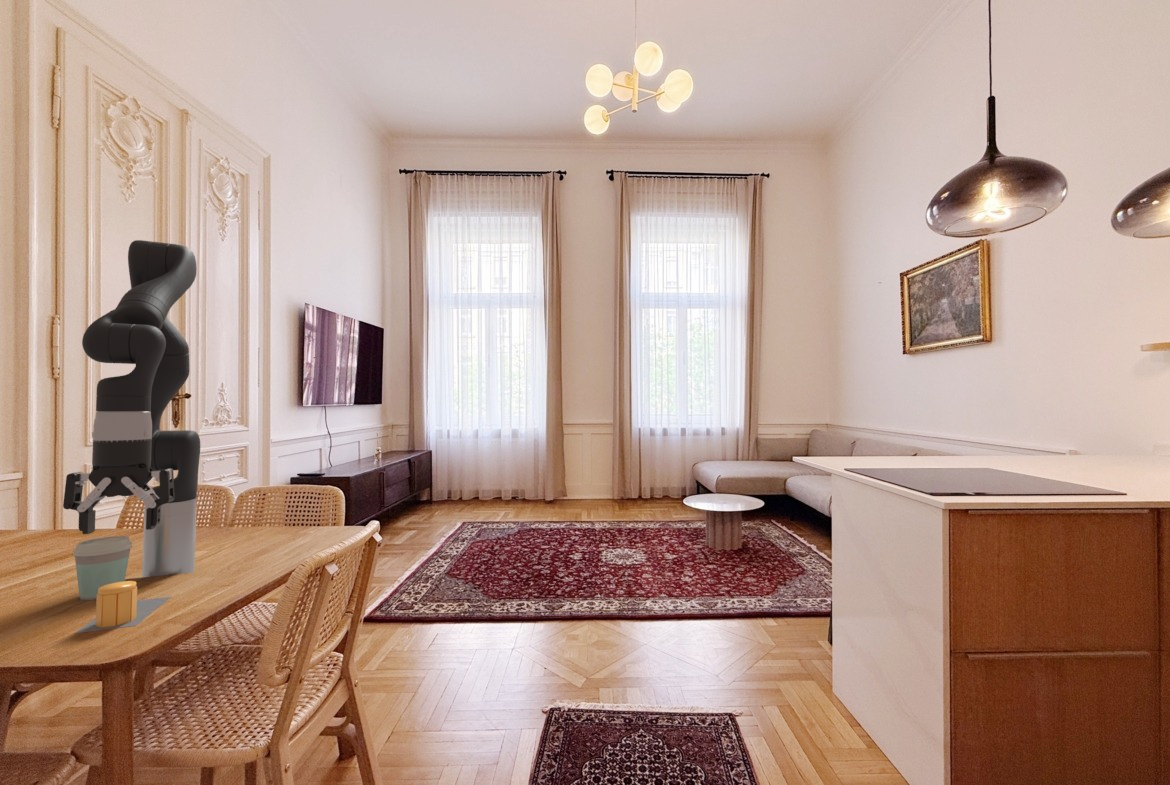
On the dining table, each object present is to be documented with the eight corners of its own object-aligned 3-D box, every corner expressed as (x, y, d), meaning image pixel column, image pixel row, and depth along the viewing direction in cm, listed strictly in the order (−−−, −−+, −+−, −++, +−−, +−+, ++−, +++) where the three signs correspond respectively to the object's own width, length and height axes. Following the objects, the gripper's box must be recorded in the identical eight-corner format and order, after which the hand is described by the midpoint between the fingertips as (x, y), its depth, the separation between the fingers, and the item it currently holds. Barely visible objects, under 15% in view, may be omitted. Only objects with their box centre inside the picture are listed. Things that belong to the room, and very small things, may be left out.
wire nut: (106, 617, 86) (107, 583, 86) (140, 613, 88) (141, 579, 88) (90, 628, 82) (91, 592, 82) (126, 624, 83) (128, 588, 84)
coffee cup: (126, 590, 104) (128, 533, 104) (134, 600, 98) (136, 539, 99) (67, 602, 97) (70, 541, 98) (72, 614, 92) (75, 548, 92)
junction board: (118, 610, 93) (119, 583, 93) (170, 604, 96) (171, 578, 96) (73, 642, 80) (74, 611, 80) (135, 634, 83) (136, 604, 83)
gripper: (181, 435, 92) (179, 522, 92) (82, 437, 87) (79, 529, 87) (164, 437, 85) (161, 532, 85) (55, 439, 80) (52, 540, 80)
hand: (120, 530), depth 86 cm, fingers open, 8 cm apart
